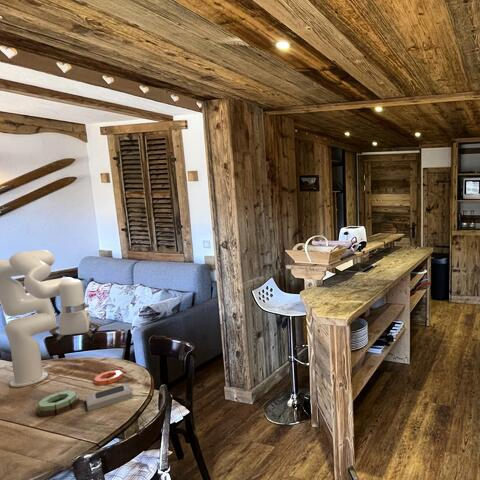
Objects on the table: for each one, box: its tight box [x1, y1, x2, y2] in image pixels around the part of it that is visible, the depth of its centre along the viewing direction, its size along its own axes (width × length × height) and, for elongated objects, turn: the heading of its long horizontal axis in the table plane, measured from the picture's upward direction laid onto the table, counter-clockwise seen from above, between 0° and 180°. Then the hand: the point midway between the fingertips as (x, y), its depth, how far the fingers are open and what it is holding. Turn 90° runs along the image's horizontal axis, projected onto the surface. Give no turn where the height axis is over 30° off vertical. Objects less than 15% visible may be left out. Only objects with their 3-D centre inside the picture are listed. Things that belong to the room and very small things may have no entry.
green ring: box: [37, 390, 78, 411], centre depth 150 cm, size 11×11×2 cm
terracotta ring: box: [93, 369, 124, 386], centre depth 173 cm, size 10×10×2 cm
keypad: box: [85, 383, 133, 412], centre depth 156 cm, size 10×4×15 cm
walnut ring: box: [36, 396, 80, 418], centre depth 150 cm, size 12×12×2 cm
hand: (77, 345), depth 156 cm, fingers open, 9 cm apart
